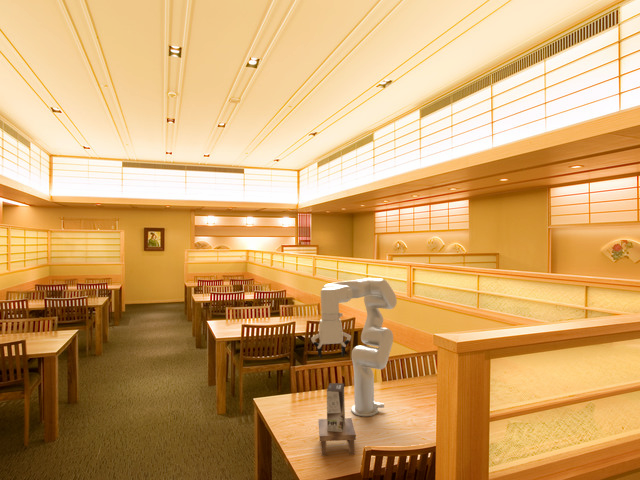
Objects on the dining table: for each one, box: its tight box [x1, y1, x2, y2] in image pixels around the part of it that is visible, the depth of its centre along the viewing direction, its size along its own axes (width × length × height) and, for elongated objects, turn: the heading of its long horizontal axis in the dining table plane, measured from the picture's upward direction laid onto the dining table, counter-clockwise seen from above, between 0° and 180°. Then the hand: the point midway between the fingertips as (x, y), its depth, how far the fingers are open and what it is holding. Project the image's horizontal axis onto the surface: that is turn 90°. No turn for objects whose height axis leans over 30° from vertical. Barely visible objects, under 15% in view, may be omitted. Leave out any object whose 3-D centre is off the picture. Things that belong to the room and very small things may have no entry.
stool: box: [318, 417, 357, 457], centre depth 159 cm, size 14×14×8 cm
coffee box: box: [326, 382, 346, 432], centre depth 159 cm, size 9×6×16 cm
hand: (331, 356), depth 168 cm, fingers open, 9 cm apart
